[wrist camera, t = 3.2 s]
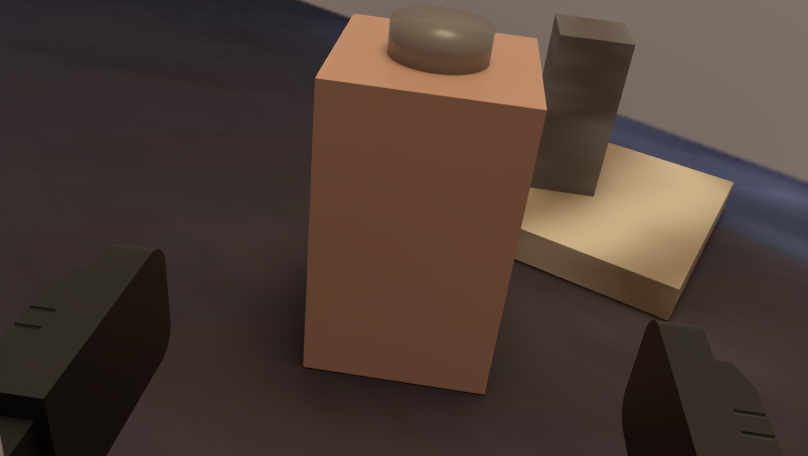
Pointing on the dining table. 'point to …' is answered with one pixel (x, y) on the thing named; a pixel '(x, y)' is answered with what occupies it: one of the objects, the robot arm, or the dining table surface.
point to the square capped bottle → (418, 194)
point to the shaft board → (609, 183)
